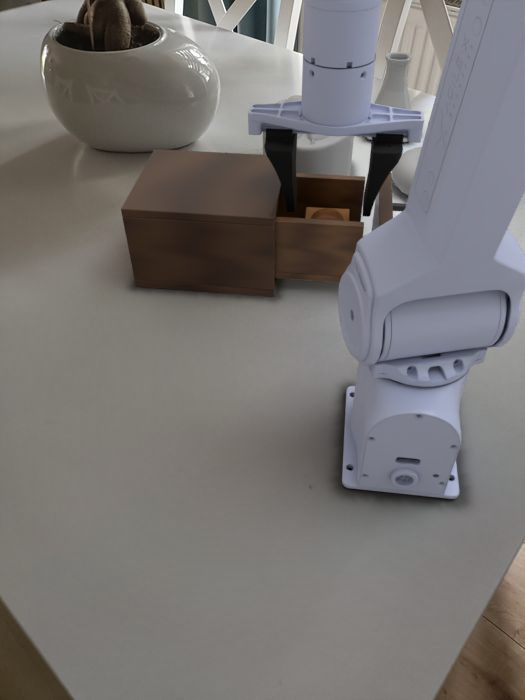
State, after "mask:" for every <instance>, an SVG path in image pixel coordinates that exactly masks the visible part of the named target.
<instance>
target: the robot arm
mask: <svg viewBox="0 0 525 700" xmlns="http://www.w3.org/2000/svg"><path fill="white" fill-rule="evenodd" d="M382 2H383V0H304V3H303V6H304V7H303V8H304V9H303V37H302V38H303V40H302V70H301V71H302V74H301V96H302V100H300V101H291V102H281V103H276V102H272V103H251V104H250V106H249V109H248V111H247V125H248V127H247V128H248V129H247V130H248V135H250V136H260V135H263V132H266V138H265V145H264V148H265V152H266V155H267V157H268V159H269V160H270V162H271V164H272V165H273V167H274V169H275V171H276V173H277V175H278V178H279V180H280V183H281V186H282V189H283V192H284V196H285V200H286V205H287V211H288V212H295V207H296V201H297V180H296V151H297V133H298V134H319V135H325V136H354V137H365V138H367V137H372V140H371V144H370V152H369V154H370V155H369V162H368V163H369V164H368V172H367V177H366V180H365V187H364V196H363V205H362V217H366V218H367V217H371V213H372V211H373V207H374V205H375V200H376V197H377V195H378V193H379V191H380V189H381V187H382V185H383V183H384V181H385V180H386V178H387V177H388V175H389V174H390V173H392V170H393V168H394V167H395V166H396V165H397V164H398V162H399V160H400V158H401V156H402V154H403V153H404V145H403V144H404V142H403V138H407V141H408V142H409V143H417V144H418V143H421V141H422V136H423V130H424V123H425V117H424V111H423V110H417V109H411V110H407V109H401V108H395V107H390V106H384V105H379V104H374V102H373V103H372V96H373V86H374V77H375V67H376V58H377V51H378V50H377V49H378V40H379V31H380V21H381V12H382V4H383V3H382ZM428 120H429V121H428V123H427V127H426V131H425V135H424V137H423V143H422V145H421V147H422V149H421V152H420V156H419V160H418V163H417V167H416V171H415V174H414V178H413V182H412V185H411V189H410V193H409V196H407V200H406V207H405V210H404V211H400V212H399V213H398V214H397V215H395V216H393V218H392V219H391V220H389V221H388V222H386V223H384V224H383V225H381V226H380V227H378V228H376V229H375V230H373V231H372V230H371V231H370V232H368V233H367V234H365V235H363V238H361V239H360V240H359V241H358V242H357V245H356V250H355V253H354V255H353V258H352V261H351V264H350V265H349V266H348V267H347V269H346V271H345V273H344V274H343V275H342V277H341V280H340V283H338V290H337V291H338V293H337V307H338V309H337V310H338V318H339V324H340V329H341V334H342V337H343V338H342V339H343V341H344V344H345V346H346V349H347V351H348V352H349V354H350V355H351V356H352V357H353V358H354V359H355V360H356V361H357V362H358V363H357V371H356V379H355V385H349V386H348V387H347V388H346V391H345V409H344V410H345V411H344V429H343V430H344V431H343V432H344V433H343V450H342V452H343V453H342V470H341V471H342V473H341V484H342V485H343V486H344V487H345V488H347V489H354V490H363V491H371V492H372V491H373V492H383V493H391V494H400V495H410V496H421V497H427V498H428V497H429V498H440V499H448V500H455V499H457V498H458V497H459V495H460V483H459V474H458V465H457V457H458V454H459V451H460V449H461V445H462V428H461V419H460V406H461V405H460V403H461V399H462V395H463V393H464V390H465V387H466V384H467V380H468V377H469V373H470V371H471V368H472V367H473V366H476V365H478V364H482V363H484V361H485V357H486V354H487V352H488V349H489V348H490V349H491V348H501V347H502V346H504V345H506V344H507V343H508V342H509V341H510V340H511V339H512V337H513V336H514V334H515V331H516V329H517V326H518V324H519V322H520V317H521V312H522V300H523V296H524V292H525V253H524V251H523V249H522V247H521V244H520V243H519V241H518V240H517V238H516V236H514V234H513V233H512V232H511V230H509V226H510V225H511V222H512V220H513V218H514V215H515V213H516V211H517V210H518V207H519V205H520V202H521V201H522V198H523V196H524V194H525V0H461V3H460V7H459V10H458V14H457V17H456V21H455V25H454V29H453V32H452V36H451V40H450V43H449V47H448V50H447V53H446V58H445V61H444V65H443V69H442V72H441V75H440V79H439V82H438V86H437V90H436V94H435V98H434V102H433V106H432V108H431V113H430V116H429V119H428ZM349 468H350V469H351V470H349ZM450 479H451V480H450Z"/></svg>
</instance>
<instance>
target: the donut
mask: <svg viewBox="0 0 525 700" xmlns="http://www.w3.org/2000/svg"><path fill="white" fill-rule="evenodd" d="M421 149H422V146H419V147H414V148H411V149H408V150H406V151H404V152H402V156H401V158H400V160H399V162H398V164H397V165H396V166H395V167H394V168H393V170H392V171H391V174H392V182H393V183H394V185H395V187H397V189H398V190H399V191H400V192H401V193H403V194H404V195H406V196H407V197H408V196H409V193H410V189H411V185H412V182H413V178H414V174H415V171H416V167H417V163H418V160H419V156H420V152H421Z"/></svg>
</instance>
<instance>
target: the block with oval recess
mask: <svg viewBox="0 0 525 700" xmlns="http://www.w3.org/2000/svg"><path fill="white" fill-rule="evenodd" d="M305 218H306V219H323V220H339V221H349V209H337V208H316V207H306V215H305Z"/></svg>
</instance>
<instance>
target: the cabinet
mask: <svg viewBox="0 0 525 700" xmlns="http://www.w3.org/2000/svg"><path fill="white" fill-rule="evenodd" d="M281 193H282V186H281V183H280V180H279V178H278V175H277V173H276V171H275V169H274V167H273V165H272V164H271V162H270V160H269V159H268V157H267V155H263V154H260V153H259V154H256V153H237V152H220V151H219V152H217V151H198V150H179V149H159V148H158V149H157V148H154V149H153V151H152V153H151V155H150V156H149V158H148V160H147V161H146V163H145V165H144V167H143V169H142V170H141V172H140V174H139V176H138V177H137V179H136V181H135V182H134V185H133V186H132V188H131V189H130V192H129V193H128V196H127V197H126V199H125V201H124V202H123V204H122V206H121V208H120V212H121V216H122V223H123V229H124V232H125V238H126V244H127V248H128V253H129V259H130V264H131V269H132V274H133V279H134V281H133V282H134V285H135V287H137V288H138V287H139V288H154V289H167V290H178V291H179V290H180V291H194V292H206V293H207V292H208V293H220V294H233V295H246V296H259V297H260V296H261V297H275V294H276V291H277V285H278V279H279V278H275V220H276V216H277V211H278V206H279V202H280V197H281Z"/></svg>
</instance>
